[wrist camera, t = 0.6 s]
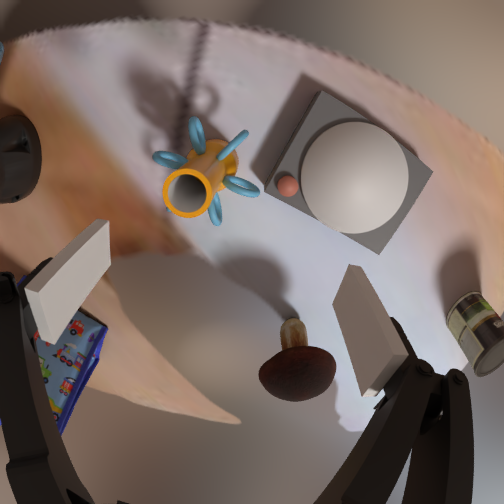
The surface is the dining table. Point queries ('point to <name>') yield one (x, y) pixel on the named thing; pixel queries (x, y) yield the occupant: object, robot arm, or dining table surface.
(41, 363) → the lunch bag
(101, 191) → the dining table surface
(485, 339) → the coffee can
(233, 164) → the yellow tube with rings
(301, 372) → the decorative mushroom
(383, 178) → the mount slab
